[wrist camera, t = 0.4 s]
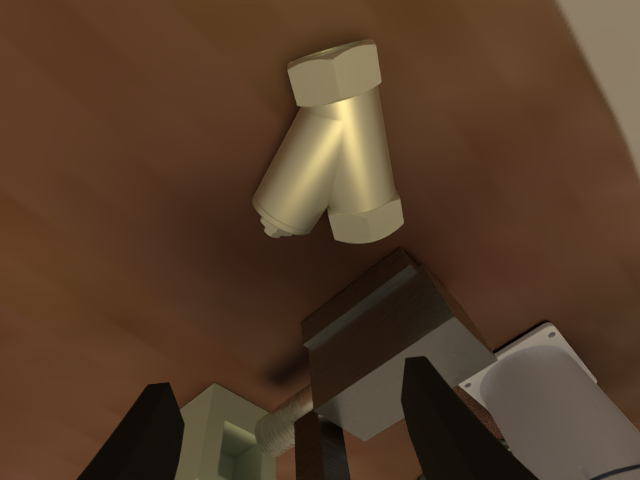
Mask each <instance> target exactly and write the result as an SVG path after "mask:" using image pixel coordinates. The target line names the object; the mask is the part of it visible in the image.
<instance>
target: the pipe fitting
mask: <svg viewBox="0 0 640 480" xmlns="http://www.w3.org/2000/svg"><path fill="white" fill-rule="evenodd" d="M287 71H288V75H289V78H290V82H291V85H292V89H293V92H294V96H295V100H296V103H297V106H300V107H301V108H300V110H299V111H298V113H297V115H296V117H295V119H294V121H293V123H292V125H291V127H290V128H289V130H288V132H287V134H286V136H285V138H284V140H283V142H282V143H281V145H280V147H279V149H278V151H277V153H276V155H275V157H274V159H273V160H272V162H271V164H270V166H269V168H268V170H267V172H266V174H265V176H264V177H263V179H262V181H261V183H260V185H259V187H258V189H257V191H256V192H255V194H254V196H253V199H252V201H253V205H254V207H255V209H256V211H257V212H258V213H259V214H260V215H261V219H260V221H261V222H262V224H263V225H264V226H265V228H264V231H265V233H266V234H268V235H269V236H271V237H273V238H279V237H280V236H292V234H295V235H306V234H308V233H310V232H311V231H312V229H313V228H314V226H315V224H316V223H317V221H318V220H319V218H320V217H321V215H322V214H323V212H324V211H325V209H326V208H327V211H328V217H329V221H330V224H331V228H332V231H333V235H334V239H335V240H338V241H341V242H346V243H354V244H362V243H370V242H374V241H377V240H380V239H382V238H385V237H387V236H388V235H390V234H392V233H393V232H394V231H396V230H397V229H398V228H399V227H401V226H402V225H403V224H404V220H403V214H402V207H401V201H400V197H399V195H398V192H397V190H396V188H395V187H394V181H393V175H392V169H391V163H390V157H389V150H388V144H387V138H386V132H385V126H384V120H383V114H382V108H381V102H380V96H379V90H378V85H379V84H380V83H381V82H382V81H381V75H380V69H379V62H378V56H377V50H376V44H375V43H374V41H373V40H372V39H366V40H360V41H356V42H352V43H348V44H344V45H340V46H336V47H333V48H329V49H326V50H323V51H319V52H316V53H313V54H310V55H307V56H304V57H301V58H299V59H296V60H294V61H291V62H289V63H288V64H287Z"/></svg>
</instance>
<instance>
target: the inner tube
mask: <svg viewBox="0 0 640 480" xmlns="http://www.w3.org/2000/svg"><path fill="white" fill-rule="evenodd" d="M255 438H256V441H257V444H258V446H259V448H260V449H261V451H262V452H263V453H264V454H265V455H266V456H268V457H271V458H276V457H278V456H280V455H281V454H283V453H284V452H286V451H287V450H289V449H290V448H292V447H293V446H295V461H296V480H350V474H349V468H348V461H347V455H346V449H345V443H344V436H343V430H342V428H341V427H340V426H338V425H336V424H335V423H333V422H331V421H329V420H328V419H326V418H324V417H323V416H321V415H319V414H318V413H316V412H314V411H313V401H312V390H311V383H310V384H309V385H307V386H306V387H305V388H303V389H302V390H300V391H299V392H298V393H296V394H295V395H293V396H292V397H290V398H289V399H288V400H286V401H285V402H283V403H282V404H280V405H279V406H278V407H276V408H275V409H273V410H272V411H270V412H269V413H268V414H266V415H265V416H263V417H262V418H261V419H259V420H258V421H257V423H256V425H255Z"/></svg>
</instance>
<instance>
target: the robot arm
mask: <svg viewBox="0 0 640 480" xmlns="http://www.w3.org/2000/svg"><path fill="white" fill-rule="evenodd" d="M494 355H495V356H496V358H497V359H498V361H496V362H495V363H493V364H491V365H490V366H488V367H487V368H485V369H483V370H482V371H480V372H478V373H477V374H475V375H473V376H472V377H470V378H468V379H467V380H465V381H463V382H462V383H460V384H459V386H460V387H461V388H462V389H464V390H465V391H466V392H467V393H468V394H469V395H471V396H472V397H473V398H474V399H475V400H476V401H478V402H479V403H480V404H481V405H482V406H483V407H485V408H486V409H487V410H488V411H489V412H490V414H491V415H492V417H493V419H494V421H495V423H496V424H497V426H498V428H499V430H500V432H501V433H502V435H503V437H504V439H505V440H506V442H507V444H508V446H509V448H510V449H511V451H512V453H513V454H512V453H511V452H510V451H509V450H508V449H507V448H506V447H505V446H504V445H503V444H502V443H501V442H500V441H499V440H498V439H497V438H496V437H495V436H494V435H493V434H492V433H491V432H490V431H489V430H488V429H487V428H486V427H485V426H484V424H483V423H482V422H481V421H480V420H479V419H478V418H477V417H476V416H475V415H474V413H473V412H472V411H471V410H470V409H469V408H468V407H467V406H466V405H465V403H464V402H463V401H462V400H461V399H460V398H459V397H458V395H457V394H456V393H455V392H454V391H453V389H452V388H451V387H450V386H449V385H448V383H447V382H446V381H445V380H444V379H443V377H442V376H441V375H440V374H439V372H438V371H437V370H436V369H435V367H434V366H433V365H432V363H431V362H430V361H429V360H428V358H427V357H425V356H418V357H408V358H405V365H404V374H403V383H402V392H401V404H402V408H403V412H404V416H405V420H406V424H407V428H408V431H409V435H410V438H411V441H412V443H413V446H414V449H415V452H416V454H417V457H418V460H419V463H420V465H421V468H422V471H423V474H424V476H425V479H426V480H640V432H639V431H638V429H637V428H636V427H635V426H634V425H633V424H632V423H631V422H630V421H629V420H628V418H627V417H626V416H625V415H624V414H623V413H622V412H621V411H620V410H619V409H618V407H617V406H616V405H615V404H614V403H613V402H612V401H611V400H610V399H609V397H608V396H607V395H606V394H605V393H604V392H603V391H602V390H601V389H600V388H599V386H598V385H597V380H596V379H595V377H594V376H593V375H592V374H591V372H590V371H589V370H588V368H587V367H586V366H585V365H584V363H583V362H582V361H581V359H580V358H579V357H578V356H577V354H576V353H575V352H574V350H573V349H572V348H571V347H570V345H569V344H568V343H567V341H566V340H565V339H564V338H563V336H562V335H561V334H560V332H559V331H558V330H557V329H556V327H555V326H554V325H553V324H552V323H549V322H548V323H544V324H542V325H540V326H539V327H537V328H536V329H534V330H532V331H531V332H529V333H527V334H526V335H524V336H523V337H521V338H519V339H518V340H516V341H514V342H513V343H511V344H510V345H508V346H506V347H505V348H503V349H501V350H500V351H498V352H497V353H495V354H494ZM184 427H185V423H184V420H183V418H182V415H181V412H180V410H179V407H178V404H177V402H176V399H175V396H174V394H173V391H172V389H171V386H170V383H169V382H168V383H158V384H148V385H147V387H146V388H145V389H144V390H143V392H142V393H141V395H140V396H139V397H138V399H137V400H136V402H135V403H134V404H133V406H132V407H131V409H130V410H129V411H128V413H127V414H126V415H125V417H124V418H123V420H122V421H121V422H120V424H119V425H118V426H117V428H116V429H115V430H114V432H113V433H112V435H111V436H110V437H109V439H108V440H107V441H106V442H105V444H104V445H103V446H102V448H101V449H100V450H99V452H98V453H97V454H96V456H95V457H94V458H93V460H92V461H91V462H90V463H89V465H88V466H87V467H86V468H85V470H84V471H83V472H82V473H81V475H80V476H79V477H78V478H77V479H76V480H174V479H175V476H176V472H177V468H178V464H179V460H180V454H181V448H182V441H183V434H184Z"/></svg>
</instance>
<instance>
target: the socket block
mask: <svg viewBox="0 0 640 480" xmlns="http://www.w3.org/2000/svg"><path fill="white" fill-rule="evenodd" d="M180 412H181V415H182V418H183V420H184V423H185V427H184V434H183V441H182V448H181V454H180V460H179V464H178V468H177V472H176V476H175V479H174V480H276V458H271V457H268V456H266V455H265V454H264V453H263V452H262V451H261V449H260V448H259V446H258V444H257V441H256V438H255V425H256V423H257V421H258V420H259V419H261V418H262V417H263V416H265V415H266V414H268V413H269V412H267V411H265V410H264V409H262V408H260V407H258V406H256V405H254V404H253V403H251V402H249V401H247V400H245V399H243V398H242V397H240V396H238V395H236V394H234V393H233V392H231V391H229V390H227V389H225V388H223V387H222V386H220V385H218V384H216V383H213V384H212V385H211V386H210V387H208V388H207V389H206V390H204V391H203V392H202V393H201V394H199V395H198V396H197V397H196V398H194V399H193V400H192V401H190V402H189V403H188V404H187V405H185V406H184V407H183V408H181V409H180Z"/></svg>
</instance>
